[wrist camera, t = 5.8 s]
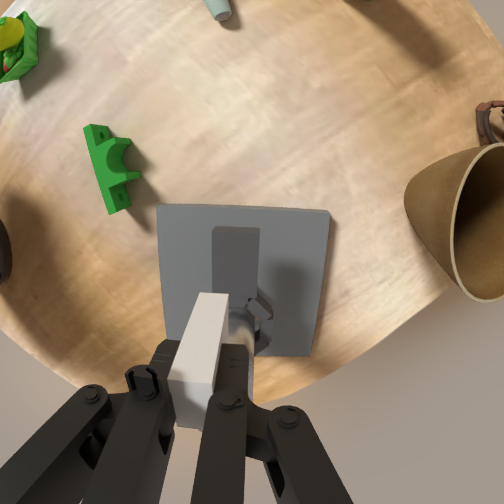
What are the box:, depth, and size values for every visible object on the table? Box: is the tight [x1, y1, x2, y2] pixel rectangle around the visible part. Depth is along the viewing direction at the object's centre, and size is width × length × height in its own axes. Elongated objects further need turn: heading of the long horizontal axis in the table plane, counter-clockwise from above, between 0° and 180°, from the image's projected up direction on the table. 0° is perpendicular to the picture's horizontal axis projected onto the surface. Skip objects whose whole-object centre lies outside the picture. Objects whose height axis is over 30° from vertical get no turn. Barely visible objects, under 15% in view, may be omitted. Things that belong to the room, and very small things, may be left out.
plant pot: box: [404, 143, 504, 303], centre depth 25 cm, size 15×15×16 cm
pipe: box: [198, 307, 257, 432], centre depth 26 cm, size 4×4×20 cm
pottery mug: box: [476, 101, 504, 145], centre depth 26 cm, size 12×10×8 cm
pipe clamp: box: [83, 124, 141, 215], centre depth 31 cm, size 11×4×5 cm, turn 17°
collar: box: [212, 226, 274, 356], centre depth 27 cm, size 7×13×2 cm, turn 178°
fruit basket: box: [0, 11, 38, 84], centre depth 21 cm, size 11×9×11 cm
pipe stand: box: [156, 204, 330, 356], centre depth 36 cm, size 20×20×2 cm
